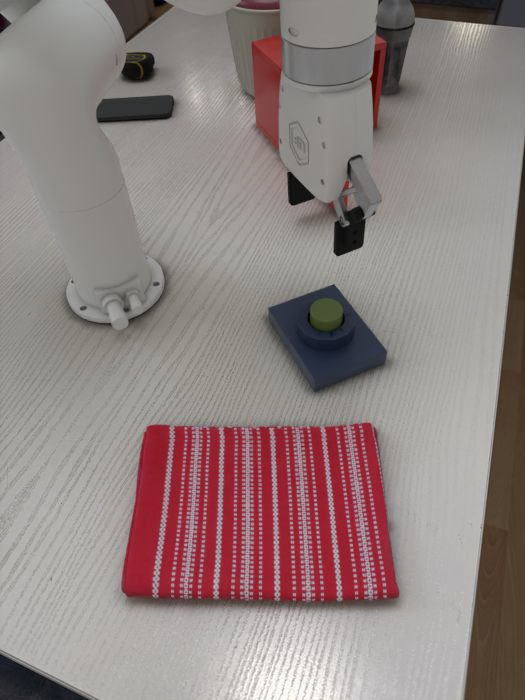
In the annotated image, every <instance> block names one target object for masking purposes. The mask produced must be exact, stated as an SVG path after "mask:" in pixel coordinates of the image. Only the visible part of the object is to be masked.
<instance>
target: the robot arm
mask: <svg viewBox="0 0 525 700" xmlns="http://www.w3.org/2000/svg"><path fill="white" fill-rule="evenodd" d="M164 1H165V2H166V3H168V4H170V5H172V6H174V7H175V8H178V9H179V10H180V9H181V10H183V11H185V12H187V13H191V14H195V15H198V16H214V15H219V14H222V13H223V14H224V13H225V12H226V11H228V10H229V9H231V8H233V7H235V6H236V5H237V4H239V3H240V2H241V1H242V0H164ZM378 6H379V0H280V23H281V52H282V72H281V80H280V93H279V150H278V152H279V158H280V160H281V162H282V163H283V165H284V166H285V169H286V170H287V172H286V177H287V179H286V181H287V200H288V203H289V205H290V206H293V207H294V206H298V205H300V204H304V203H306V202H309V201H312V200H315V199H317V200H319V201H320V202H322V203H324V204H328V203H330V202H331V201H333V203H334V207H335V210H336V211H335V210H334V211H335V213H336V216H337V220H335V221H334V222H333V223H334V224H333V250H332V252H333V254H334V255H335V256H336V257H341V256H343V255H346V254H348V253H351V252H353V251H357V250H359V249H361V248H363V247H364V243H365V235H366V234H365V233H366V232H365V231H366V222H367V219H370V218H371V217H373V216H375V215H376V211H377V210H378V208H379V207H380V205H381V204H382V202H383V196H382V194H381V192H380V189H379V188H378V186H377V184H376V182H375V181H374V179H373V177H372V175H371V171H372V162H373V161H372V160H373V143H374V142H373V141H374V129H373V104H372V88H371V81H370V79H369V78H370V77H371V75H372V72H373V61H374V49H375V37H376V23H377V12H378ZM0 15H2V16H3V17H4V18H5V19H6V20H7V21H8V22H10V25H8V26H7V27H6V28H5V29H3V31H1V32H0V132H1V134H2V135H3V136H4V138H5V139H6V141H7V142H8V144H9V146H10V147H11V148H12V150H13V152H14V154H15V155H16V158H17V159H18V161H19V162H20V164H21V167H22V168H23V171H24V172H25V175H26V176H27V179H28V181H29V183H30V186H31V188H32V191H33V193H34V195H35V197H36V199H37V201H38V203H39V206H40V208H41V210H42V212H43V215H44V217H45V220H46V222H47V224H48V226H49V228H50V232H51V233H52V235H53V238H54V240H55V241H56V245H57V247H58V249H59V251H60V254H61V256H62V258H63V261H64V264H65V265H66V268H67V271H68V273H69V275H70V278H69V280H68V282H67V286H66V289H65V291H66V292H65V293H66V294H65V295H66V300H67V302H68V304H69V306H70V308H71V309H72V311H73V312H74V313H75V314H76V315H77V316H78V317H80V318H82V319H84V320H86V321H89V322H93V323H99V324H111V326H112V328H113V329H115V330H116V331H121V330H124V329H126V328H127V327H128V326H129V320H131V319H133V318H136V317H138V316H140V315H142V314H143V313H145V312H146V311H148V310H150V308H152V307H153V306H154V305H155V304H156V303H157V302H158V301H159V299H160V298H161V296H162V295H163V292H164V289H165V285H166V282H165V281H166V280H165V276H164V271H163V269H162V266H161V265H160V264H159V262H158V261H156V259H154V258H153V257H151V256H150V255H147V254H146V251H145V247H144V244H143V240H142V237H141V233H140V229H139V226H138V222H137V219H136V215H135V212H134V208H133V204H132V201H131V198H130V194H129V190H128V187H127V183H126V180H125V176H124V172H123V169H122V165H121V163H120V162H121V161H120V159H119V156H118V154H117V151H116V149H115V147H114V145H113V143H112V141H111V140H110V139H109V138H108V136H107V135H106V134H105V132H104V131H103V130H102V128H101V126H100V124H99V121H97V118H96V109H97V107H98V105H99V104H100V102H101V101H102V99H105V96H106V95H107V93H109V91H110V89H111V88H112V87H113V85H114V84H115V82H117V79H119V76H120V75H121V74H122V73H121V72H122V69H123V67H124V64H125V60H126V53H127V41H126V36H125V33H124V30H123V28H122V26H121V24H120V22H119V20H118V18H117V16H116V15H115V13H114V12H113V10H112V9H111V7H110V6H109V4H108V3H107V2H106V0H0ZM346 181H349V184H351V187H350V186H349V188H347V189H344V190H343V187H344V185H345V182H346ZM350 195H352V196H353V198H354V201H355V205H356V206H355V207H353V208H351V209H349V210H348V208H347V209H346V206H345V203H344V199H343V197H345V196H348V197H349V196H350Z"/></svg>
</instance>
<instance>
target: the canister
mask: <svg viewBox="0 0 525 700" xmlns="http://www.w3.org/2000/svg"><path fill="white" fill-rule="evenodd" d="M224 13H225V14H224V15H225V20H226V25H227V30H228V36H229V40H230V46H231V52H232V57H233V62H234V65H235V66H234V67H235V72H236V75H237V79H238V82H239V85H240V87H241V88H242V90H244V92H245V93H246V94H247V95H249V96H251V97H253V98H255V96H254V79H253V62H252V45H251V42H253V41H257V40H261V39H266V38H270V37H274V36H278V35H281V23H280V0H242V1H241V2H240V3H239V4H237V5H236V6H235V7H233V8H231V9H229V10H228V11H226V12H224Z"/></svg>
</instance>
